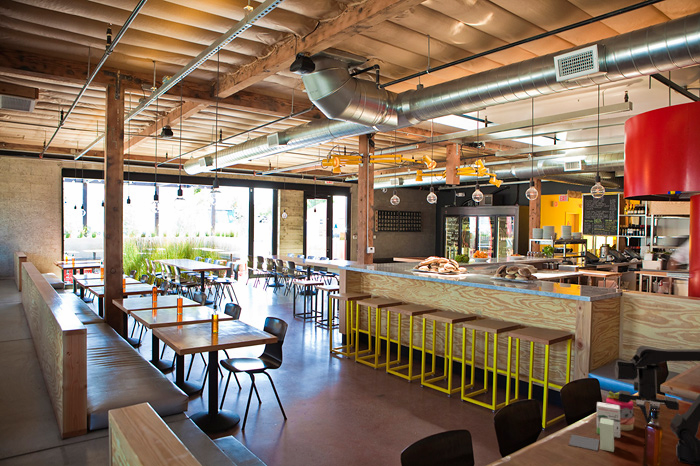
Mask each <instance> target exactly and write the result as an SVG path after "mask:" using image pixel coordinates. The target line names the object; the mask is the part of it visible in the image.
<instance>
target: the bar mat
mask: <svg viewBox="0 0 700 466" xmlns="http://www.w3.org/2000/svg"><path fill="white" fill-rule="evenodd" d="M568 446H571V447H576V448H581V449H586V450H592V451H596V452H598V451H599V446H600V439H599V438H597V439H596V438H592V437H587V436H580V435H576V434H571V436H570V439H569V442H568Z"/></svg>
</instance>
